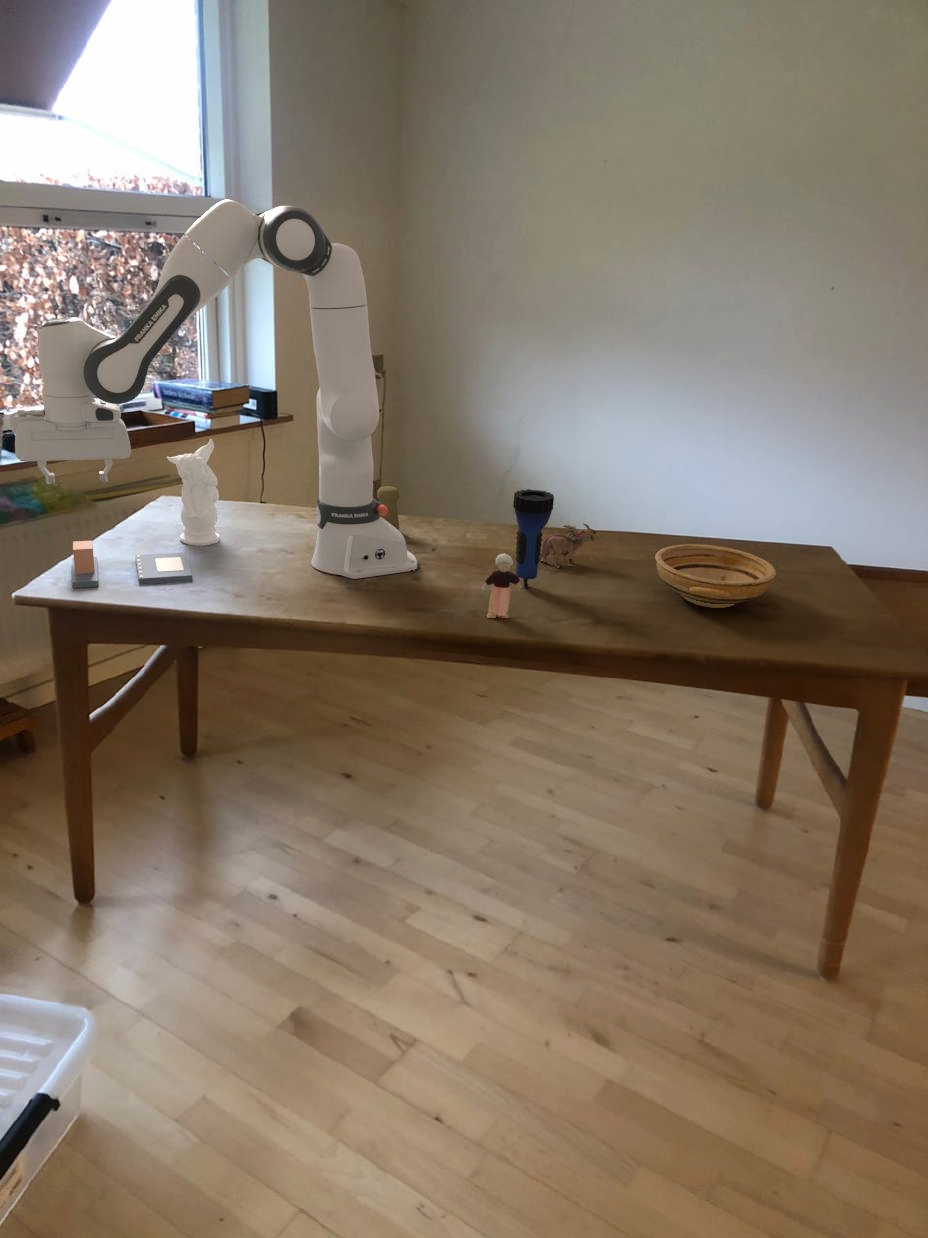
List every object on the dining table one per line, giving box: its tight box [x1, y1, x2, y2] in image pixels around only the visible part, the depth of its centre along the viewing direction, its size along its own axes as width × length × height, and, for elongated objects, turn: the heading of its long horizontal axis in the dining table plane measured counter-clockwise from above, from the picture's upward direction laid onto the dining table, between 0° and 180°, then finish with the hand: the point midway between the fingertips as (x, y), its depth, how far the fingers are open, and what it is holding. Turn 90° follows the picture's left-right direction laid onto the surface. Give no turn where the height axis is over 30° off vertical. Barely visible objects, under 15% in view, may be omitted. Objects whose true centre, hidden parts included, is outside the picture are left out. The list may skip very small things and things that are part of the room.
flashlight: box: [512, 488, 555, 589], centre depth 193 cm, size 8×8×20 cm
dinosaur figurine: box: [539, 523, 597, 566], centre depth 211 cm, size 14×6×9 cm, turn 116°
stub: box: [71, 540, 99, 589], centre depth 188 cm, size 5×14×6 cm, turn 20°
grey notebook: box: [135, 552, 193, 585], centre depth 194 cm, size 10×14×1 cm
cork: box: [376, 485, 400, 530], centre depth 224 cm, size 6×6×11 cm
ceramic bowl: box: [654, 543, 777, 604], centre depth 197 cm, size 30×24×8 cm
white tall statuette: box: [166, 438, 221, 547], centre depth 210 cm, size 12×12×22 cm
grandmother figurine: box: [480, 553, 522, 619], centre depth 180 cm, size 8×4×13 cm, turn 114°
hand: (77, 482), depth 182 cm, fingers open, 8 cm apart
